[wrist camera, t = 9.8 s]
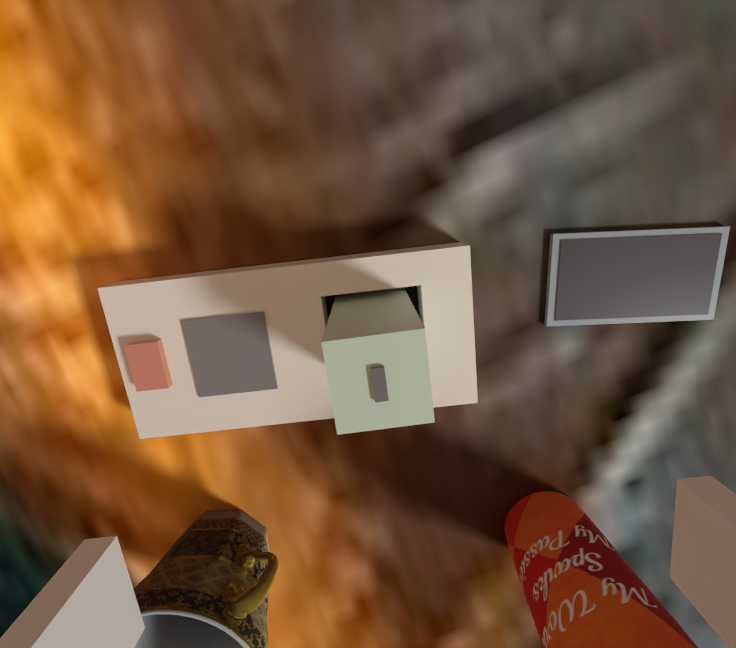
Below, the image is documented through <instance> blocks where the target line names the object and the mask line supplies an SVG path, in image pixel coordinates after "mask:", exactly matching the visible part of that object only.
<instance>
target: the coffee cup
mask: <svg viewBox="0 0 736 648" xmlns="http://www.w3.org/2000/svg"><path fill="white" fill-rule="evenodd" d="M504 530H505V535H506V539H507V543H508V546H509V549H510V552H511V555H512V558H513V561H514V564H515V567H516V570H517V573H518V576H519V579H520V582H521V585H522V587H523V590H524V593H525V596H526V599H527V602H528V605H529V608H530V611H531V613H532V616H533V619H534V622H535V625H536V628H537V631H538V634H539V636H540V639H541V642H542V645H543V648H698V647H697V646H696V644H695V643H694V642H693V641H692V640H691V638H690V637H689V636H688V635H687V633H686V632H685V631H684V630H683V628H682V627H681V626H680V625H679V624H678V622H677V621H676V620H675V619H674V618H673V616H672V615H671V614H670V613H669V612H668V611H667V609H666V608H665V607H664V606H663V605H662V604H661V603H660V601H659V600H658V599H657V598H656V597H655V596H654V594H653V593H652V592H651V591H650V590H649V589H648V587H647V586H646V585H645V584H644V583H643V582H642V580H641V579H640V578H639V577H638V576H637V574H636V573H635V572H634V571H633V570H632V568H631V567H630V566H629V565H628V564H627V562H626V561H625V560H624V559H623V558H622V556H621V555H620V554H619V553H618V552H617V550H616V549H615V548H614V547H613V546H612V544H611V543H610V542H609V541H608V540H607V539H606V537H605V536H604V535H603V534H602V533H601V531H600V530H599V529H598V528H597V527H596V525H595V524H594V523H593V522H592V521H591V520H590V518H589V517H588V516H587V515H586V514H585V513H584V512H583V510H582V509H581V508H580V507H579V506H578V505H577V504H576V503H575V502H574V501H573V500H572V499H571V498H569V497H568V496H566V495H564V494H562V493H559V492H555V491H538V492H534V493H531V494H529V495H526V496H524V497H523V498H521V499H520V500H518V501H517V502H516V503H515V504H514V505H513V506H512V507H511V509H510V510H509V512H508V514H507V516H506V519H505V524H504Z"/></svg>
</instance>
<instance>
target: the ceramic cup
mask: <svg viewBox="0 0 736 648" xmlns="http://www.w3.org/2000/svg"><path fill="white" fill-rule="evenodd" d="M277 568H278V559H277V557H276V556H275V555H274V554H273V553H270V552H269V544H268V535H267V531H266V528H265V527H264V526H262V525H261V524H260V523H258V522H257V521H256V520H254V519H253V518H252V517H250V516H249V515H248V514H246V513H245V512H244V511H242V510H231V511H208V512H205V513H203V514H202V515H201V516H200V517H199V518H198V519H197V520H196V521H195V522H194V523H193V524H192V525H191V526H190V527H189V528H188V529H187V530H186V531H185V532H184V533H183V535H182V536H181V537H180V538H179V539H178V540H177V541H176V542H175V544H174V545H173V546H172V547H171V549H170V550H169V551H168V552H167V554H166V555H165V556H164V557H163V558H162V559H161V561H160V562H159V563H158V564H157V565H156V567H155V568H154V569H153V570H152V571H151V572H150V574H149V575H148V576H147V577H146V578H144V579H143V580H142V581H141V582H140V583H139V584H138V585H137V586H136V587H135V588H134V589H133V590H134V593H135V596H136V600H137V603H138V606H139V609H140V613H141V616H142V619H143V622H144V626H145V629H144V631H143V632H142V634H141V636H140V638H139V640H138V642H137V644H136V646H135V648H268V630H267V607H268V592H269V590H270V587H271V585H272V583H273V580H274V578H275V575H276V572H277Z"/></svg>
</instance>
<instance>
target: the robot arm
mask: <svg viewBox="0 0 736 648" xmlns="http://www.w3.org/2000/svg"><path fill="white" fill-rule="evenodd" d="M670 578H671V579H672V580H673V581H674V583H675V584H676V585H677V586H678V587H679V589H680V590H681V591H682V592H683V593H684V595H685V596H686V597H687V598H688V599H689V601H690V602H691V603H692V604H693V605H694V607H695V608H696V609H697V610H698V611H699V613H700V614H701V615H702V616H703V617H704V619H705V620H706V621H707V622H708V623H709V625H710V626H711V627H712V628H713V629H714V631H715V632H716V633H717V634H718V635H719V636H720V638H721V639H722V640H723V641H724V642H725V644H726V645H727V646H728V647H729V648H736V494H734V493H733V492H732V491H730V490H729V489H728V488H726V487H725V486H724V485H723V484H721V483H720V482H719V481H717V480H716V479H715V478H713V477H712V476H704V477H694V478H685V479H677V491H676V504H675V517H674V530H673V543H672V556H671V569H670ZM144 629H145V626H144V622H143V619H142V616H141V613H140V609H139V606H138V603H137V600H136V596H135V593H134V590H133V587H132V583H131V580H130V577H129V574H128V570H127V567H126V564H125V560H124V557H123V554H122V551H121V547H120V544H119V541H118V538H117V536H111V537H101V538H92V539H85V540H84V541H83V542H82V544H81V545H80V546H79V547H78V548H77V549H76V551H75V552H74V553H73V554H72V555H71V556H70V558H69V559H68V560H67V561H66V562H65V563H64V565H63V566H62V567H61V568H60V569H59V570H58V572H57V573H56V574H55V575H54V576H53V577H52V579H51V580H50V581H49V582H48V583H47V584H46V586H45V587H44V588H43V589H42V590H41V591H40V593H39V594H38V595H37V596H36V597H35V598H34V600H33V601H32V602H31V603H30V604H29V605H28V607H27V608H26V609H25V610H24V611H23V612H22V614H21V615H20V616H19V617H18V618H17V619H16V621H15V622H14V623H13V624H12V625H11V626H10V628H9V629H8V630H7V631H6V632H5V633H4V635H3V636H2V637H1V638H0V648H135V646H136V644H137V642H138V640H139V638H140V636H141V634H142V632H143V631H144Z"/></svg>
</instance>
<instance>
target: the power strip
mask: <svg viewBox="0 0 736 648" xmlns="http://www.w3.org/2000/svg"><path fill="white" fill-rule="evenodd" d="M410 286H417V296H418V308H419V318H420V320H421V321H422V323H423V325H424V327H425V333H426V343H427V352H428V362H429V372H430V381H431V391H432V400H433V408H434V407H443V406H452V405H462V404H471V403H478V398H477V379H476V359H475V339H474V319H473V299H472V279H471V259H470V245H467V244H464V243H461V242H457V243H449V244H440V245H431V246H422V247H414V248H405V249H396V250H388V251H379V252H370V253H361V254H353V255H344V256H335V257H326V258H318V259H309V260H300V261H292V262H283V263H274V264H265V265H257V266H248V267H239V268H231V269H222V270H213V271H204V272H196V273H187V274H178V275H170V276H161V277H152V278H143V279H135V280H126V281H119V282H116V283H113V284H109V285H106V286H103V287H99V288H97V289H98V292H99V296H100V300H101V303H102V307H103V310H104V314H105V317H106V321H107V324H108V328H109V332H110V335H111V339H112V342H113V346H114V349H115V353H116V357H117V360H118V364H119V367H120V371H121V374H122V378H123V381H124V385H125V389H126V392H127V396H128V399H129V403H130V406H131V410H132V414H133V417H134V421H135V424H136V428H137V431H138V435H139V438H140V439H144V438H154V437H163V436H172V435H182V434H191V433H200V432H210V431H219V430H228V429H238V428H247V427H256V426H266V425H275V424H284V423H294V422H303V421H312V420H322V419H331V418H334V413H333V407H332V401H331V396H330V390H329V384H328V378H327V372H326V366H325V361H324V355H323V349H322V343H321V342H322V338H323V335H324V332H325V329H326V326H327V322H328V319H329V318H328V311H327V304H326V297H325V296H330V295H339V294H348V293H356V292H365V291H374V290H383V289H392V288H401V287H410Z"/></svg>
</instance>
